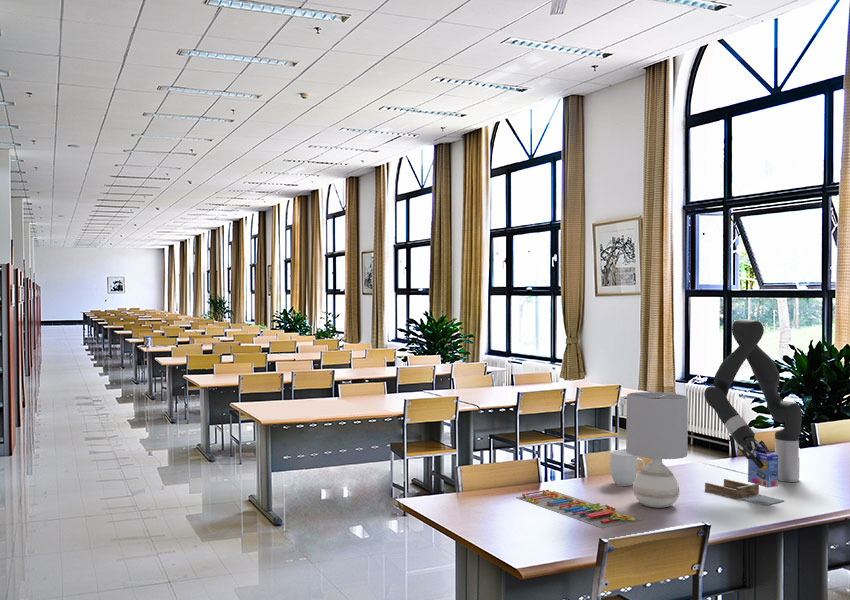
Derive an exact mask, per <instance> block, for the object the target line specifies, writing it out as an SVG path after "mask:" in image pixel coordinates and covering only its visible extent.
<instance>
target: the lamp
mask: <svg viewBox="0 0 850 600" xmlns="http://www.w3.org/2000/svg"><path fill="white" fill-rule="evenodd" d="M688 413H689V396H687V395H684V394H679V393H670V392H657V391H655V392H653V391H639V392H638V391H637V392H629V393H626V428H625V429H626V431H625V432H626V436H625V437H626V439H625V445H626V446H625V448H626V449H625V450H626V452H627V453H628V454H631V455H634V456H638V458H645V459H650V461H649V463H647V464H646V465H645V467H643V468H642V467H641V469H640V470H639V471H637V474H636V478H635V480H634V482H633V484H632V491H633V492H632V493H633V495H634V496H635V499H636V500H637V501H638V502H639V503H640V504H641V505H644V506H646V507H650V508H654V509H655V508H656V509H663V508H668V507H671V506H672V505H674V504H675V503H676V502H677V500H678V498H679V496H680V486H679V482H678V479H677V477H676V476H675V474H674V473H673V472H672V470H670V468H668V466H666V465H665V464H664V463H663V460H677V459H679V460H680V459H683V458H686V457H688V443H689V442H688V438H689V436H688V429H689V428H688V427H689V426H688V423H689V422H688V421H689V420H688V419H689V418H688V417H689V414H688Z"/></svg>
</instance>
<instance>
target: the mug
mask: <svg viewBox="0 0 850 600" xmlns="http://www.w3.org/2000/svg"><path fill="white" fill-rule="evenodd" d="M609 452H610V453H609V470H610V476H611V478H612V479H611V480H612V481H613V482H614V484H615V485H616V486H619V485H620V487H630V486H633V483H634V480H635V478H636V476H637V474H638V465H639V464H638V463H639V462H640V463H641V469H642V468H643V467H645V466H646V465H645V464H646V463H645V461H644V460H643V459H642V458H641V457H638V456H634V455H631V454H628V453H627V452H626V449H625V450H623V449H617V450H615V449H613V450H610V451H609Z"/></svg>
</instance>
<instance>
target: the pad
mask: <svg viewBox="0 0 850 600" xmlns="http://www.w3.org/2000/svg"><path fill="white" fill-rule="evenodd" d="M740 500H741V501H744V502H748V503H749V502H750V503H753V504H756V505H760V506H765V507H766V506H771V505H775V504H779V503H784V502H785V500H784V499H780V498H777V497H776V498H775V497H773V496H767V495H763V494H758V495H753V496H749V497H744V498H740Z"/></svg>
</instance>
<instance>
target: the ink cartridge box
mask: <svg viewBox="0 0 850 600" xmlns="http://www.w3.org/2000/svg"><path fill="white" fill-rule="evenodd" d="M759 448H762V449H764V450H760V449H759ZM757 449H758V451H756V455H757V457H758V458H759V459H760V460H761V462H762V463H763V464H764V466H763V467H762V468H758V466H757V465H756V464H755V463H754V461H752V460H751V459H749V460H748V459H747V461H748V462H747V464H748V465H747V482H748V483H750V484H757V485H759V487H760V486H761V487H765V488H767V489H768V488H776V487H777V488H778V487H779V480H778V455H777V454H775V453H772V452H770V453H769V452H766V450H765V448H764V447H759V446H757Z"/></svg>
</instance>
